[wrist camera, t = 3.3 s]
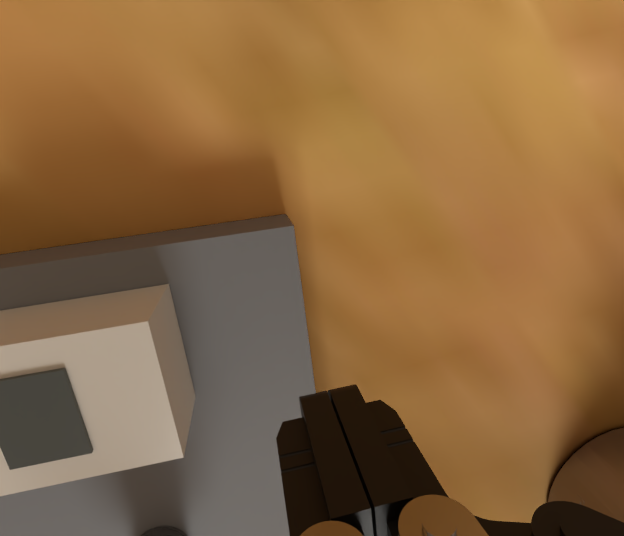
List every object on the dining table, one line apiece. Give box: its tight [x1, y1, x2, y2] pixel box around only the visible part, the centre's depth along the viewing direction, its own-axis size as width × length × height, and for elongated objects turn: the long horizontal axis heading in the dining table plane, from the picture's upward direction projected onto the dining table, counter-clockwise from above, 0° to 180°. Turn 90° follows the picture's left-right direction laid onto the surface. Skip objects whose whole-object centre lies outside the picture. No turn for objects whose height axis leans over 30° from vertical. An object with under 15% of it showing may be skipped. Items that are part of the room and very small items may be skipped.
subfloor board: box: [0, 214, 316, 536], centre depth 18 cm, size 28×18×3 cm, turn 96°
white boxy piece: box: [0, 284, 196, 496], centre depth 14 cm, size 6×5×4 cm
